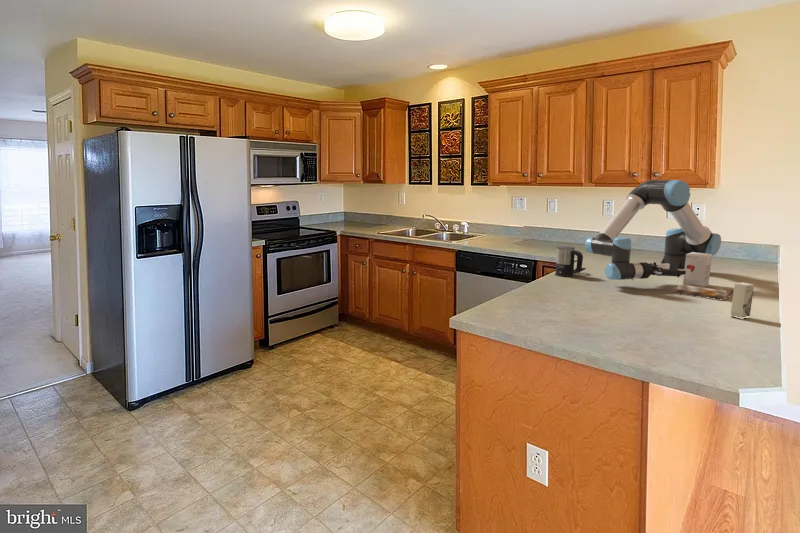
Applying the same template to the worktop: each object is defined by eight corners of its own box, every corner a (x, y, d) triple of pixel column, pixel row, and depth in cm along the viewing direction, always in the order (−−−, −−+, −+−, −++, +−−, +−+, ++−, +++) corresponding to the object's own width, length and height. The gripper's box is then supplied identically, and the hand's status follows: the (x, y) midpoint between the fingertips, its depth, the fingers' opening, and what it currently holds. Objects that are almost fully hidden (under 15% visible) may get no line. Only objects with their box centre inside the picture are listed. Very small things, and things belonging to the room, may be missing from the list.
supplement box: (682, 284, 238) (685, 253, 235) (688, 282, 244) (691, 251, 242) (703, 288, 232) (707, 256, 229) (709, 285, 238) (712, 253, 235)
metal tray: (676, 293, 221) (677, 284, 220) (687, 287, 232) (688, 279, 232) (724, 301, 209) (725, 291, 208) (733, 294, 220) (734, 285, 219)
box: (742, 320, 182) (746, 285, 180) (729, 317, 186) (733, 283, 183) (750, 318, 184) (754, 284, 182) (737, 315, 188) (742, 281, 186)
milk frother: (553, 275, 259) (554, 247, 257) (559, 270, 273) (560, 243, 270) (581, 278, 253) (583, 249, 250) (586, 273, 266) (588, 245, 264)
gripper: (621, 273, 244) (660, 271, 248) (656, 284, 220) (698, 282, 223) (622, 258, 242) (661, 256, 246) (658, 267, 218) (700, 266, 222)
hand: (679, 269), depth 235 cm, fingers open, 13 cm apart
